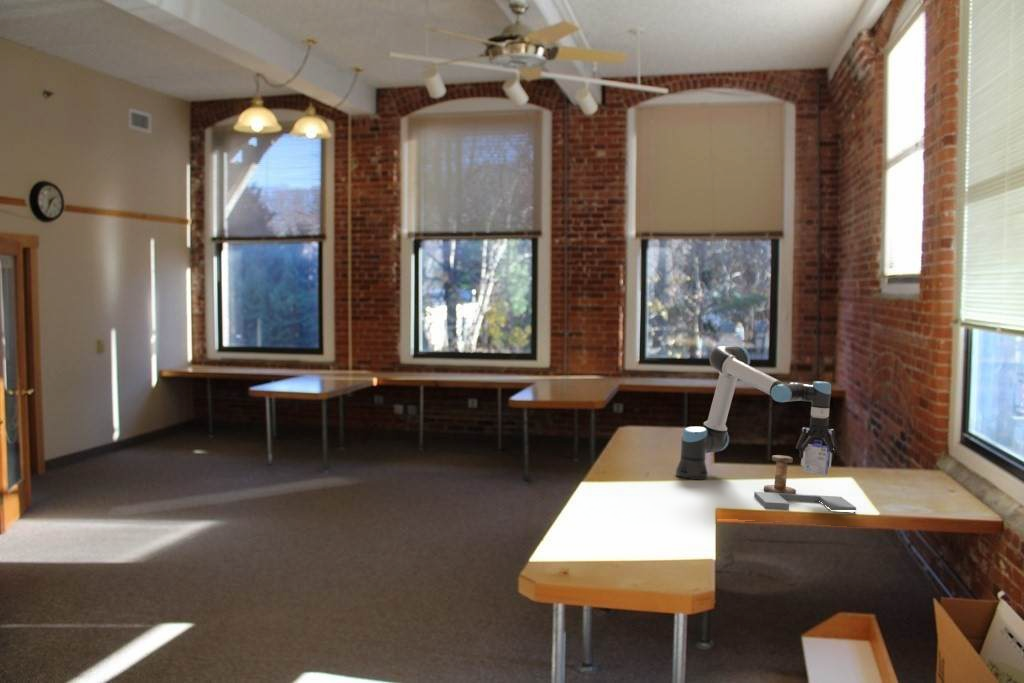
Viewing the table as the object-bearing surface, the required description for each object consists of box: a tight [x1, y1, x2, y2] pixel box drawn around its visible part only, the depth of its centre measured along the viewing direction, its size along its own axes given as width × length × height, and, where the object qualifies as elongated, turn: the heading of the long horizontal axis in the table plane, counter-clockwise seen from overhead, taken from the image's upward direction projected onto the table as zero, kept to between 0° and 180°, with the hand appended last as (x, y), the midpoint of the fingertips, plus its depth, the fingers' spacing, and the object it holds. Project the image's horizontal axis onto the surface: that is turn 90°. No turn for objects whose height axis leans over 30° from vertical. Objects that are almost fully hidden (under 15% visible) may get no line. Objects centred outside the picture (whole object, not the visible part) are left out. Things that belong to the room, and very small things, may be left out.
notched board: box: [753, 491, 857, 511], centre depth 375 cm, size 38×18×2 cm, turn 89°
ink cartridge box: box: [802, 439, 830, 476], centre depth 383 cm, size 10×6×14 cm, turn 60°
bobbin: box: [763, 454, 797, 494], centre depth 396 cm, size 14×14×16 cm
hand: (815, 466), depth 383 cm, fingers closed on ink cartridge box, 11 cm apart
